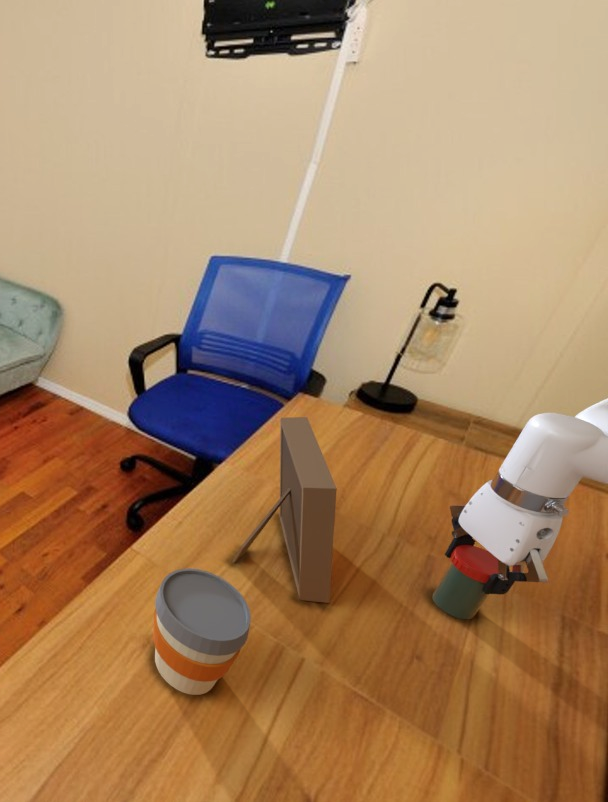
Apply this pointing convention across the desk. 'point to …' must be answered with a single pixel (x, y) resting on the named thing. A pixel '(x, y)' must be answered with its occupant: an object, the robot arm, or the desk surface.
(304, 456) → the photo frame
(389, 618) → the desk surface
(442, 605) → the jam jar
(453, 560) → the jam lid
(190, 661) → the reusable coffee cup
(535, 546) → the robot arm
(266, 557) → the desk surface
